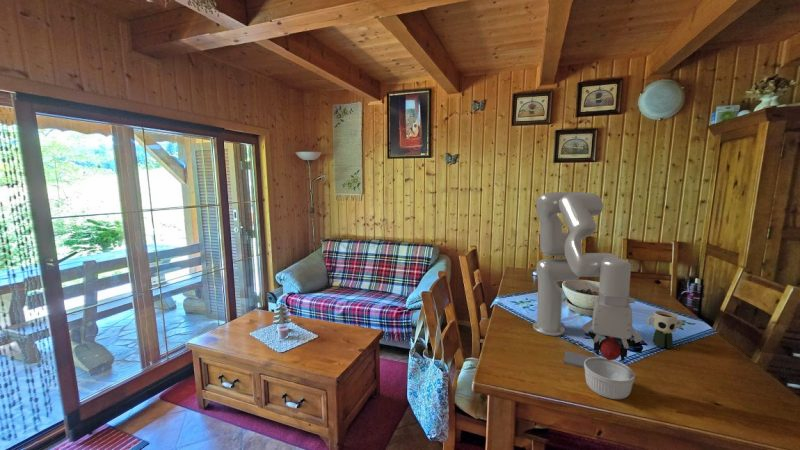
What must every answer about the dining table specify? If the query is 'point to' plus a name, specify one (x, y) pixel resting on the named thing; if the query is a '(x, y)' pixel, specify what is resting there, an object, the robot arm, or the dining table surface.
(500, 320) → the dining table surface
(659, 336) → the character mug
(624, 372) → the ramekin
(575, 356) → the coaster
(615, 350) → the onion
